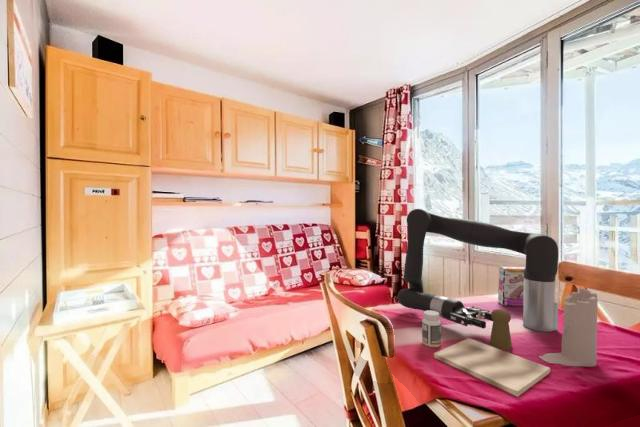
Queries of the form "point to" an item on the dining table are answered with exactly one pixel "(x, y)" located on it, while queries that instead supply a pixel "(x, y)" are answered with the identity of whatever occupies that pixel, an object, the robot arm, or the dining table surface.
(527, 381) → the birch board
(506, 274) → the candy bar box
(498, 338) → the cork
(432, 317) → the pill bottle
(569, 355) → the candle
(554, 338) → the dining table surface
